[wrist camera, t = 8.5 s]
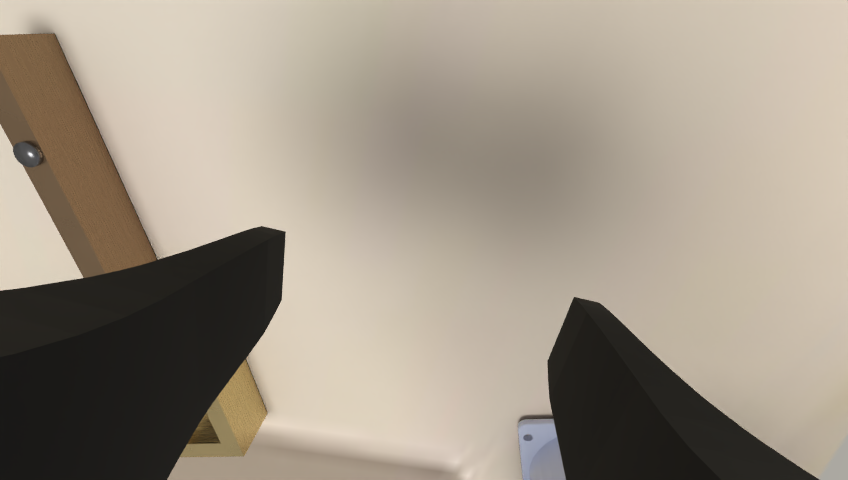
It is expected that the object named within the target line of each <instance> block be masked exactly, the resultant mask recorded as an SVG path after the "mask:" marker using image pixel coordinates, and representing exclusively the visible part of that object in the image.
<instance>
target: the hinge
mask: <svg viewBox="0 0 848 480" xmlns="http://www.w3.org/2000/svg"><path fill="white" fill-rule="evenodd" d="M0 124H1V126H2V128H3V129H4V131H5V133H6V135H7V137H8V139H9V141H10V142H11V144H12V146H13V152H14V155H15V157H16V159H17V160H18V161H19V162H20V163H21V164H22V165H23V166H24V168H25V170H26V172H27V174H28V176H29V177H30V179H31V181H32V183H33V185H34V187H35V189H36V190H37V192H38V194H39V196H40V198H41V200H42V201H43V203H44V205H45V207H46V209H47V211H48V213H49V214H50V216H51V218H52V220H53V222H54V224H55V225H56V227H57V229H58V231H59V233H60V235H61V237H62V238H63V240H64V242H65V244H66V246H67V248H68V249H69V251H70V253H71V255H72V257H73V259H74V261H75V262H76V264H77V266H78V268H79V270H80V272H81V273H82V275H83V277H84V278H87V277H92V276H96V275H101V274H105V273H110V272H114V271H119V270H123V269H127V268H131V267H135V266H139V265H142V264H146V263H149V262H153V261H156V260H157V259H156V256H155V254H154V252H153V250H152V248H151V245H150V243H149V241H148V239H147V237H146V234H145V232H144V230H143V228H142V226H141V223H140V221H139V219H138V217H137V215H136V212H135V210H134V208H133V206H132V204H131V201H130V199H129V197H128V195H127V193H126V190H125V188H124V186H123V184H122V182H121V179H120V177H119V175H118V173H117V171H116V168H115V166H114V164H113V162H112V160H111V157H110V155H109V153H108V151H107V149H106V146H105V144H104V142H103V140H102V138H101V135H100V133H99V131H98V129H97V127H96V125H95V122H94V120H93V118H92V116H91V114H90V111H89V109H88V107H87V105H86V103H85V100H84V98H83V96H82V94H81V92H80V89H79V87H78V85H77V83H76V81H75V78H74V76H73V74H72V72H71V70H70V67H69V65H68V63H67V61H66V59H65V56H64V54H63V52H62V50H61V48H60V45H59V43H58V41H57V39H56V37H55V34H18V35H0ZM266 415H267V411H266V409H265V406H264V404H263V401H262V399H261V396H260V394H259V391H258V389H257V387H256V384H255V382H254V379H253V377H252V374H251V372H250V369H249V367H248V364H247V362H246V359H245V360H244V361H243V363H242V364H241V365H240V367H239V368H238V370H237V371H236V372H235V374H234V375H233V376H232V378H231V379H230V380H229V382H228V383H227V384H226V386H225V387H224V389H223V390H222V391H221V393H220V394H219V395H218V397H217V398H216V399H215V401H214V402H213V403H212V405H211V406H210V408H209V409H208V411H207V412H206V414H205V415H204V417H203V418H202V420H201V421H200V423H199V425H198V426H197V428H196V430H195V431H194V433H193V435H192V437H191V438H190V440H189V442H188V443H187V445H186V447H185V449H184V450H183V452H182V454H181V455H180V457H228V456H244V455H245V453H246V452H247V450H248V448H249V446H250V444H251V443H252V441H253V439H254V437H255V435H256V433H257V432H258V430H259V428H260V426H261V424H262V422H263V421H264V419H265V417H266Z"/></svg>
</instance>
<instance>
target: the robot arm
mask: <svg viewBox="0 0 848 480" xmlns="http://www.w3.org/2000/svg"><path fill="white" fill-rule="evenodd" d="M284 249H285V232H284V231H280V230H276V229H271V228H267V227H262V226H261V227H257V228H253V229H249V230H246V231H243V232H240V233H237V234H234V235H231V236H229V237H226V238H223V239H220V240H217V241H214V242H212V243H209V244H206V245H203V246H200V247H197V248H194V249H191V250H188V251H185V252H182V253H179V254H175V255H172V256H169V257H166V258H162V259H159V260H156V261H153V262H149V263H146V264H142V265H139V266H135V267H131V268H127V269H123V270H119V271H114V272H110V273H105V274H101V275H96V276H92V277H87V278H82V279H76V280H70V281H64V282H57V283H51V284H45V285H39V286H33V287H27V288H20V289H12V290H3V291H0V480H167V478H168V477H169V475H170V473H171V471H172V469H173V468H174V466H175V464H176V462H177V460H178V459H179V457H180V455H181V454H182V452H183V450H184V449H185V447H186V445H187V443H188V442H189V440H190V438H191V437H192V435H193V433H194V431H195V430H196V428H197V426H198V425H199V423H200V421H201V420H202V418H203V417H204V415H205V414H206V412H207V411H208V409H209V408H210V406H211V405H212V403H213V402H214V401H215V399H216V398H217V397H218V395H219V394H220V393H221V391H222V390H223V389H224V387H225V386H226V384H227V383H228V382H229V380H230V379H231V378H232V376H233V375H234V374H235V372H236V371H237V370H238V368H239V367H240V365H241V364H242V363H243V361H244V360H245V359H246V357H247V356H248V355H249V353H250V352H251V350H252V349H253V348H254V346H255V345H256V344H257V342H258V341H259V339H260V338H261V337H262V335H263V334H264V332H265V330H266V329H267V327H268V325H269V323H270V321H271V320H272V318H273V316H274V314H275V312H276V310H277V308H278V306H279V304H280V302H281V300H282V283H283V266H284ZM548 383H549V397H550V403H551V409H552V414H553V419H526V420H522V421H520V422H519V423H518V435H519V445H520V456H521V466H522V476H523V480H819V479H817V478H816V477H814V476H813V475H811V474H809V473H808V472H806V471H805V470H803V469H802V468H800V467H799V466H797V465H796V464H794V463H793V462H791V461H790V460H788V459H787V458H785V457H784V456H782V455H781V454H779V453H778V452H776V451H775V450H773V449H772V448H770V447H769V446H767V445H766V444H764V443H763V442H761V441H760V440H759V439H757V438H756V437H754V436H753V435H751V434H750V433H749V432H747V431H746V430H744V429H743V428H742V427H741V426H739V425H738V424H737V423H735V422H734V421H733V420H731V419H730V418H729V417H727V416H726V415H725V414H723V413H722V412H721V411H719V410H718V409H717V408H716V407H714V406H713V405H712V404H711V403H709V402H708V401H707V400H706V399H704V398H703V397H702V396H701V395H699V394H698V393H697V392H696V391H695V390H694V389H692V388H691V387H690V386H689V385H688V384H687V383H686V382H684V381H683V380H682V379H681V378H680V377H679V376H677V375H676V374H675V373H674V372H673V371H672V370H671V369H670V368H669V367H667V366H666V365H665V364H664V363H663V362H662V361H661V360H660V359H659V358H658V357H657V356H656V355H655V354H653V353H652V352H651V351H650V350H649V349H648V348H647V347H646V346H645V345H644V344H643V343H642V342H641V341H640V340H639V339H638V338H637V337H636V336H635V335H634V334H633V333H632V332H631V331H630V330H629V329H628V328H627V327H626V326H624V325H623V324H622V323H621V322H620V321H619V320H618V319H617V318H616V317H615V316H614V315H613V314H612V313H611V312H610V311H609V310H607V309H606V308H605V307H604V306H603V305H601V304H600V303H598V302H593V301H589V300H585V299H580V298H576V297H574V298H573V301H572V303H571V306H570V308H569V311H568V313H567V315H566V318H565V320H564V323H563V325H562V328H561V330H560V332H559V335H558V337H557V340H556V342H555V345H554V347H553V349H552V352H551V354H550V357H549V359H548ZM527 434H529V435H527Z"/></svg>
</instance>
